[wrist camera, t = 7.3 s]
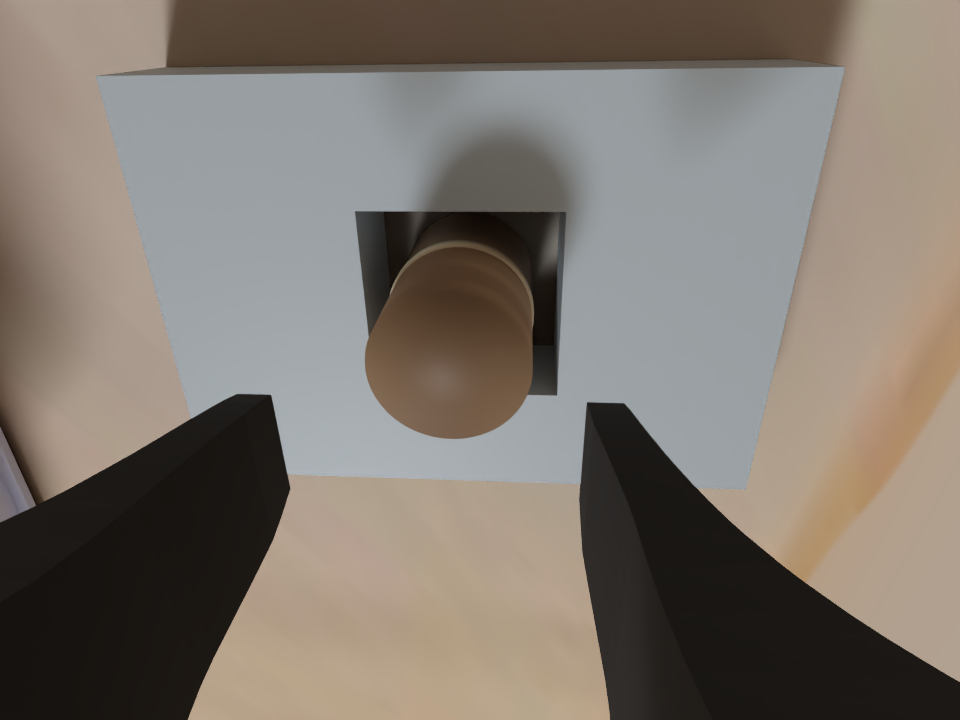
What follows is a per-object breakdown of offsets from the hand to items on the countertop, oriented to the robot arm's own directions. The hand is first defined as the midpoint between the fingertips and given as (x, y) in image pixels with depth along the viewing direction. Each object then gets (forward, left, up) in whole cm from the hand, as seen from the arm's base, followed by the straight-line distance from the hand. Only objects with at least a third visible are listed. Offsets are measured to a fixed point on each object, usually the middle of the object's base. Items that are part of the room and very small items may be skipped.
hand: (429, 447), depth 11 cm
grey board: (0, 0, -9) cm, 9 cm away
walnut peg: (0, 0, -9) cm, 9 cm away
